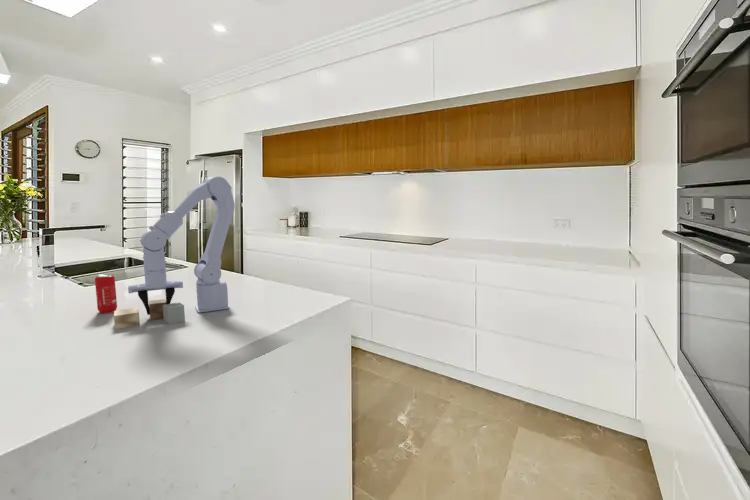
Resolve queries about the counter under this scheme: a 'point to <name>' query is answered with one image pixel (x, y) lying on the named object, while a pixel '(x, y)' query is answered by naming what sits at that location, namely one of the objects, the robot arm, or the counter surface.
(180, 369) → the counter surface
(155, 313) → the walnut block
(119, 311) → the maple base
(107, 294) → the beverage can
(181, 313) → the grey block
